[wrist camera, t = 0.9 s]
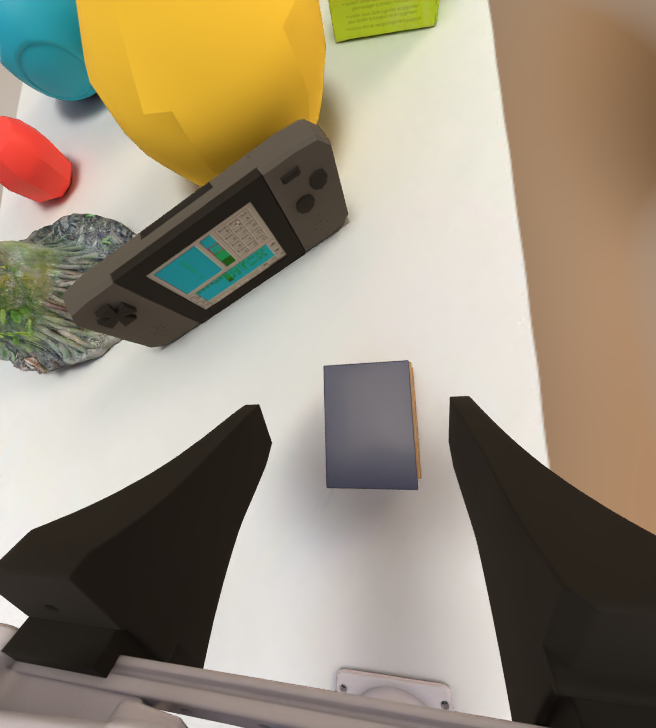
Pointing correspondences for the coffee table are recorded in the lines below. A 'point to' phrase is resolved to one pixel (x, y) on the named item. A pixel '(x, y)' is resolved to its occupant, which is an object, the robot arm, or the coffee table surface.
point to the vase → (204, 74)
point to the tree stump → (52, 292)
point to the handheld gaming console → (216, 242)
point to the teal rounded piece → (45, 47)
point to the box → (380, 16)
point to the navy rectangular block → (369, 426)
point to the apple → (31, 162)
